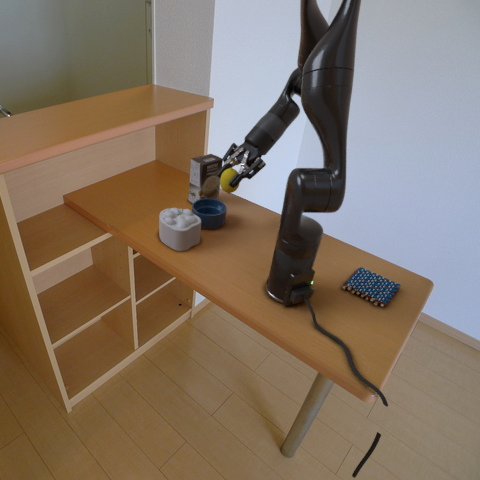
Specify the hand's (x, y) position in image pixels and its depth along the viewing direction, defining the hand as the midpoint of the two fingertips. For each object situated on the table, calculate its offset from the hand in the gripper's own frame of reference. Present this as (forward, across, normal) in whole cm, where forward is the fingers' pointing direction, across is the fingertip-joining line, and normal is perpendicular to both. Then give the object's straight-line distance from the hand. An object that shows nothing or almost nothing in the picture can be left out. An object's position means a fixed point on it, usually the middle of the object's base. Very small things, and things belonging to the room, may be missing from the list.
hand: (224, 181), depth 102 cm
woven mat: (-2, +37, +28) cm, 47 cm away
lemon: (+2, 0, +4) cm, 5 cm away
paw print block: (+22, -4, +4) cm, 23 cm away
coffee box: (+9, -21, +17) cm, 28 cm away
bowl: (+12, -8, +13) cm, 20 cm away
